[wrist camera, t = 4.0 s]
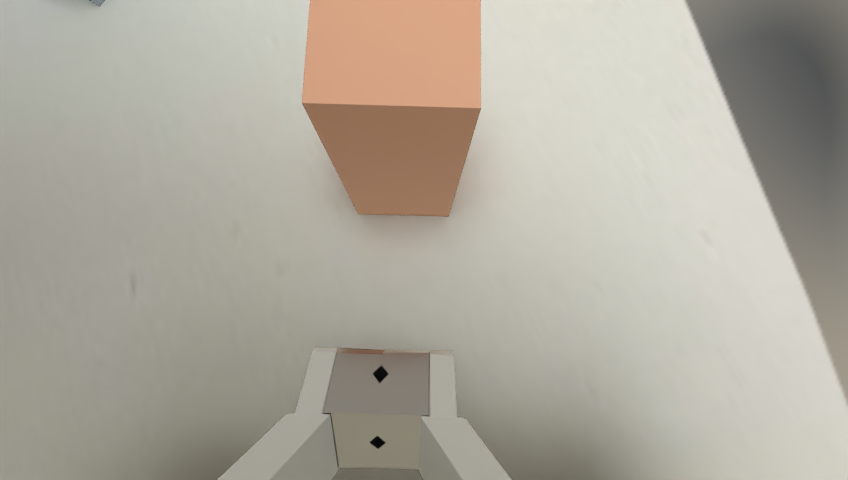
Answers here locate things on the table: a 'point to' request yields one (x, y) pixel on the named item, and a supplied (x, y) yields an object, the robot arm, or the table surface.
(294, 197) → the table surface
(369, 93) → the terracotta post
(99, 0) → the slate post
